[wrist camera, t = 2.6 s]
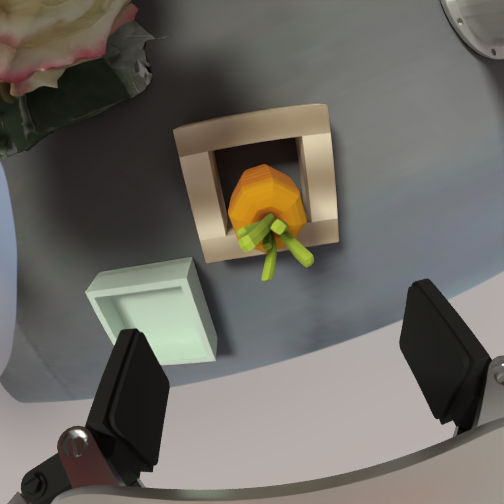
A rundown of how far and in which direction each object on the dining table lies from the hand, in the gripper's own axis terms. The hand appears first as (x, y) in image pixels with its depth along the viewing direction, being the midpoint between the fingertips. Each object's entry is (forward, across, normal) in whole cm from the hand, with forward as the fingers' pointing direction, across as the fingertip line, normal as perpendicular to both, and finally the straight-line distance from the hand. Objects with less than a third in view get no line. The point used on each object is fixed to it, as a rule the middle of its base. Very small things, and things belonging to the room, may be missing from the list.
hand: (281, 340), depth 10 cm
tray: (+21, +13, +13) cm, 28 cm away
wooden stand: (+20, -1, 0) cm, 21 cm away
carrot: (+21, -1, 0) cm, 21 cm away
